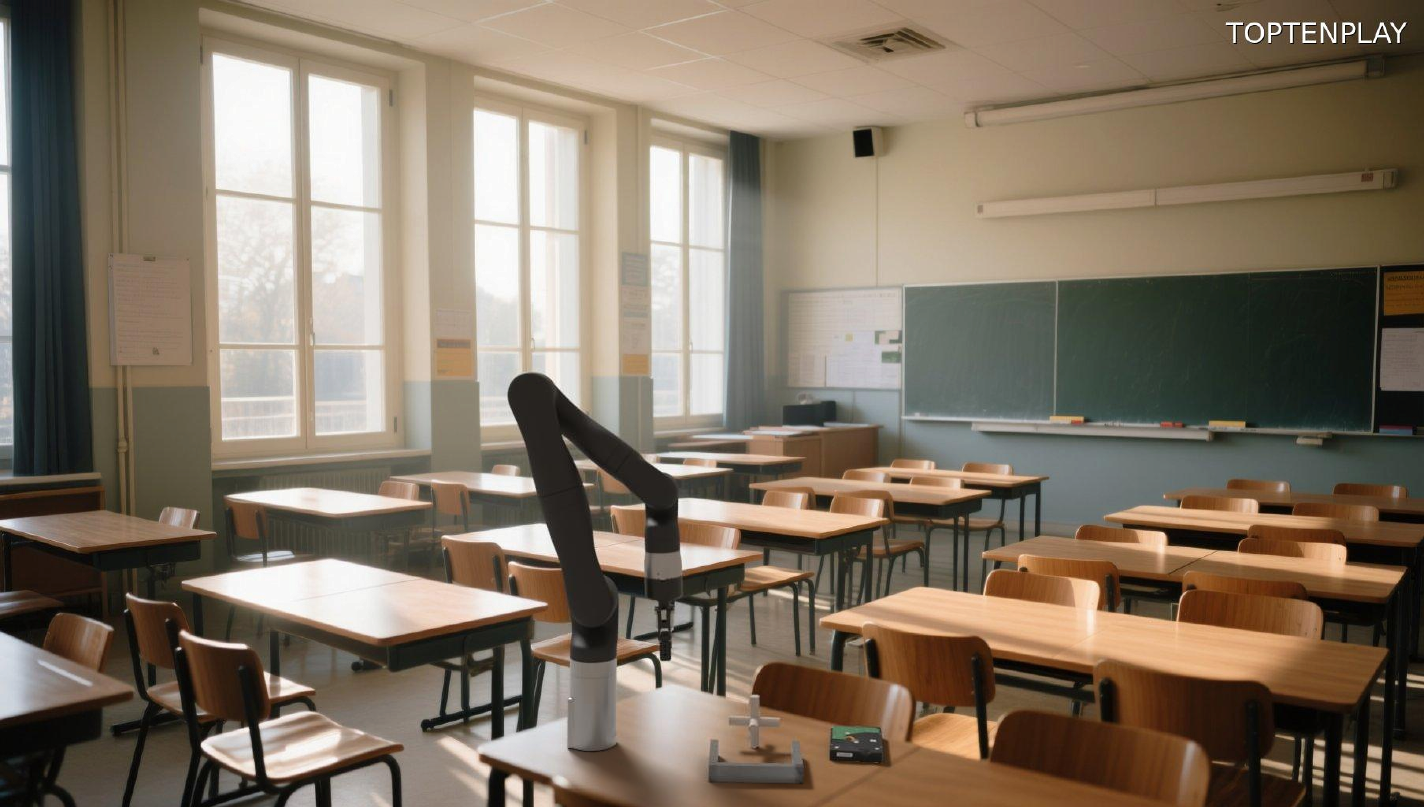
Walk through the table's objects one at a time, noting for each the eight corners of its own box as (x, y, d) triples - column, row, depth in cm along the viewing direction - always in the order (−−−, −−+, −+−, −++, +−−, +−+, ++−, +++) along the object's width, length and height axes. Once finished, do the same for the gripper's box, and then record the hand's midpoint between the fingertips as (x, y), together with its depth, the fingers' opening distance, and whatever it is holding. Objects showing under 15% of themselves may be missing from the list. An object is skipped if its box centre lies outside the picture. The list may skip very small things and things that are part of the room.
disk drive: (884, 767, 191) (881, 739, 206) (884, 752, 191) (881, 726, 206) (829, 764, 192) (829, 737, 207) (829, 749, 192) (830, 723, 207)
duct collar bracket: (708, 781, 181) (708, 765, 181) (710, 755, 195) (710, 739, 195) (803, 783, 181) (803, 767, 181) (798, 756, 194) (799, 741, 194)
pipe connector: (780, 739, 204) (780, 689, 204) (778, 757, 194) (779, 705, 194) (731, 737, 205) (731, 688, 205) (726, 754, 195) (727, 703, 195)
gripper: (645, 568, 208) (648, 646, 208) (642, 581, 194) (645, 665, 194) (682, 566, 208) (685, 645, 208) (682, 579, 194) (685, 663, 194)
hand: (666, 655), depth 201 cm, fingers open, 8 cm apart
